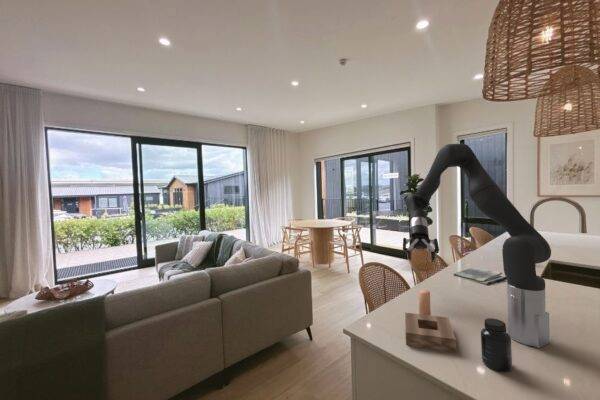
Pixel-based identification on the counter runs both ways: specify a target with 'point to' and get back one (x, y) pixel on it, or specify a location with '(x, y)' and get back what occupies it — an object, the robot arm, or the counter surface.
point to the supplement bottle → (496, 345)
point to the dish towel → (480, 275)
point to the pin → (424, 302)
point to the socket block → (429, 332)
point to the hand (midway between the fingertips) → (421, 260)
